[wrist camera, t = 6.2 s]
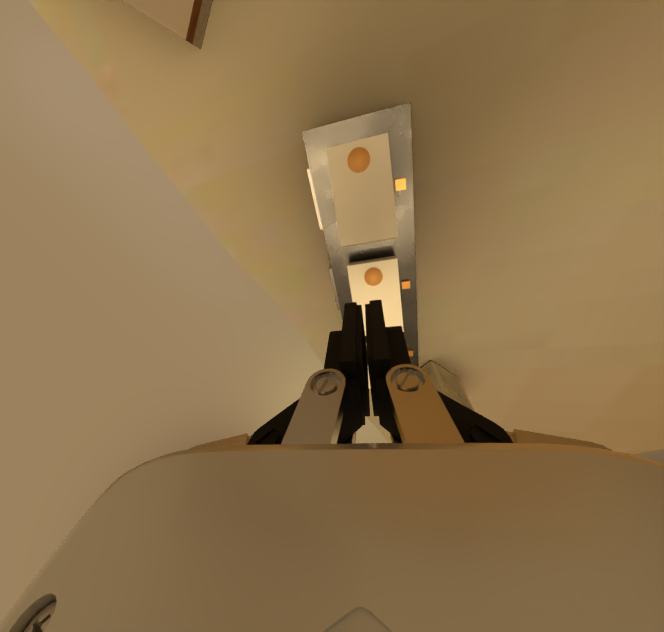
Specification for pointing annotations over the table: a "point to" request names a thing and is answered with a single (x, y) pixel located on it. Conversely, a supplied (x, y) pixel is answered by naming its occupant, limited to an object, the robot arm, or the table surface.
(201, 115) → the table surface
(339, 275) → the power strip
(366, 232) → the rocker
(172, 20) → the display case
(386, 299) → the cream flat rectangular block
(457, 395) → the skincare box
